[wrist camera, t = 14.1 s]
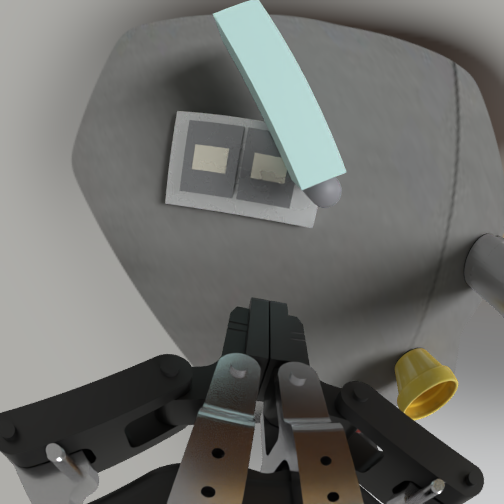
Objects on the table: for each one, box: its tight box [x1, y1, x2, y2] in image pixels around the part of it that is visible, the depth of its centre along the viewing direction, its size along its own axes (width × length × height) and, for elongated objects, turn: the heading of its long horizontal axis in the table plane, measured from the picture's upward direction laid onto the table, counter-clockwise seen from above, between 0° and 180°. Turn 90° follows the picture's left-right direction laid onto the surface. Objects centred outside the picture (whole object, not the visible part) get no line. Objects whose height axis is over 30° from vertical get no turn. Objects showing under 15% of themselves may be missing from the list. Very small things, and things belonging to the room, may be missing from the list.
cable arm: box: [213, 0, 346, 208], centre depth 19 cm, size 17×4×6 cm, turn 25°
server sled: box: [165, 111, 318, 228], centre depth 26 cm, size 16×10×4 cm, turn 80°
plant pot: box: [395, 348, 458, 420], centre depth 34 cm, size 10×10×10 cm
